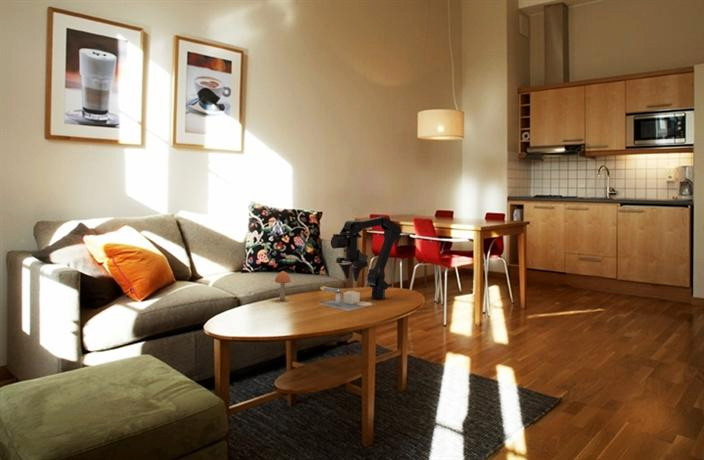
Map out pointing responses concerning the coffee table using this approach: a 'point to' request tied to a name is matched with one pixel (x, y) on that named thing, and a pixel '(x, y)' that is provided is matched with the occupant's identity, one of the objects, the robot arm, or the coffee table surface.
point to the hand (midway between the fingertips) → (351, 279)
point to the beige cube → (351, 297)
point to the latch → (331, 289)
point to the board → (342, 305)
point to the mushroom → (282, 283)
